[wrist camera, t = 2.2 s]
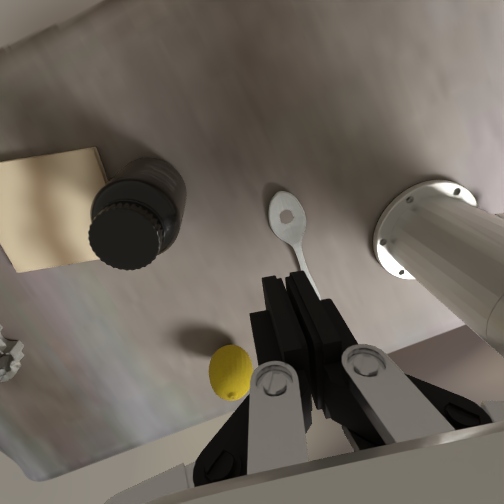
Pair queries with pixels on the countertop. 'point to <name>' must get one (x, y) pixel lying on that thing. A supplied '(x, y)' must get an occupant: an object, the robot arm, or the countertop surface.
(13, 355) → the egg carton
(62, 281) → the countertop surface
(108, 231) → the supplement bottle
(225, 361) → the lemon
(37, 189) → the cutting board
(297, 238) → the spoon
